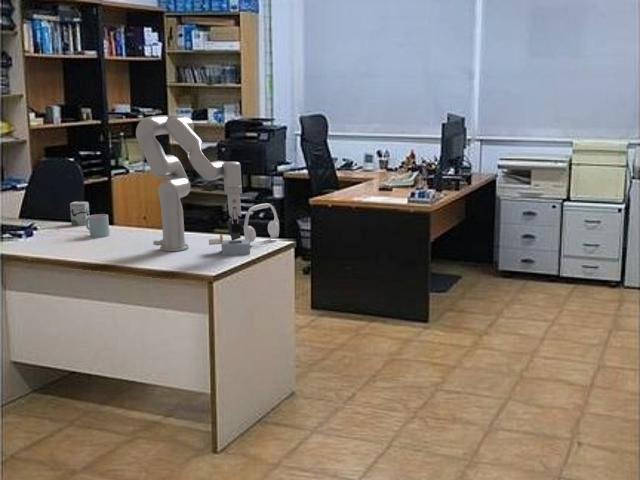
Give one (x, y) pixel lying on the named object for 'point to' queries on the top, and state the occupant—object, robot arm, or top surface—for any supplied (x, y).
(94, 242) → the top surface
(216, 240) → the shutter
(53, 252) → the top surface
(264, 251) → the top surface
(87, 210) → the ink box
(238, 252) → the socket
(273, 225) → the headset
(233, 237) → the plug
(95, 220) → the mug
